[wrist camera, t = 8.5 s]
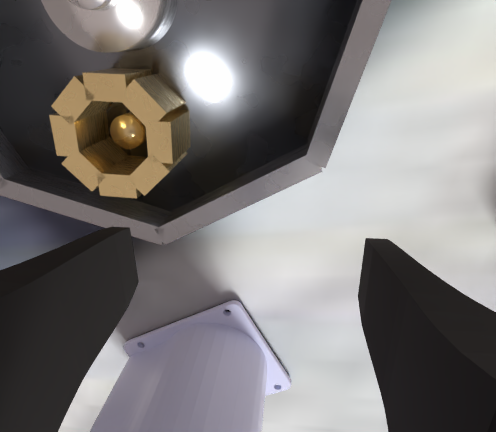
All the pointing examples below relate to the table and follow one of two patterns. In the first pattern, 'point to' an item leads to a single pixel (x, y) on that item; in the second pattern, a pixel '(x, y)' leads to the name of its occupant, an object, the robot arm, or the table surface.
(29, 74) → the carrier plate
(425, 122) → the table surface
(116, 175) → the gold octagonal ring
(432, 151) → the table surface
